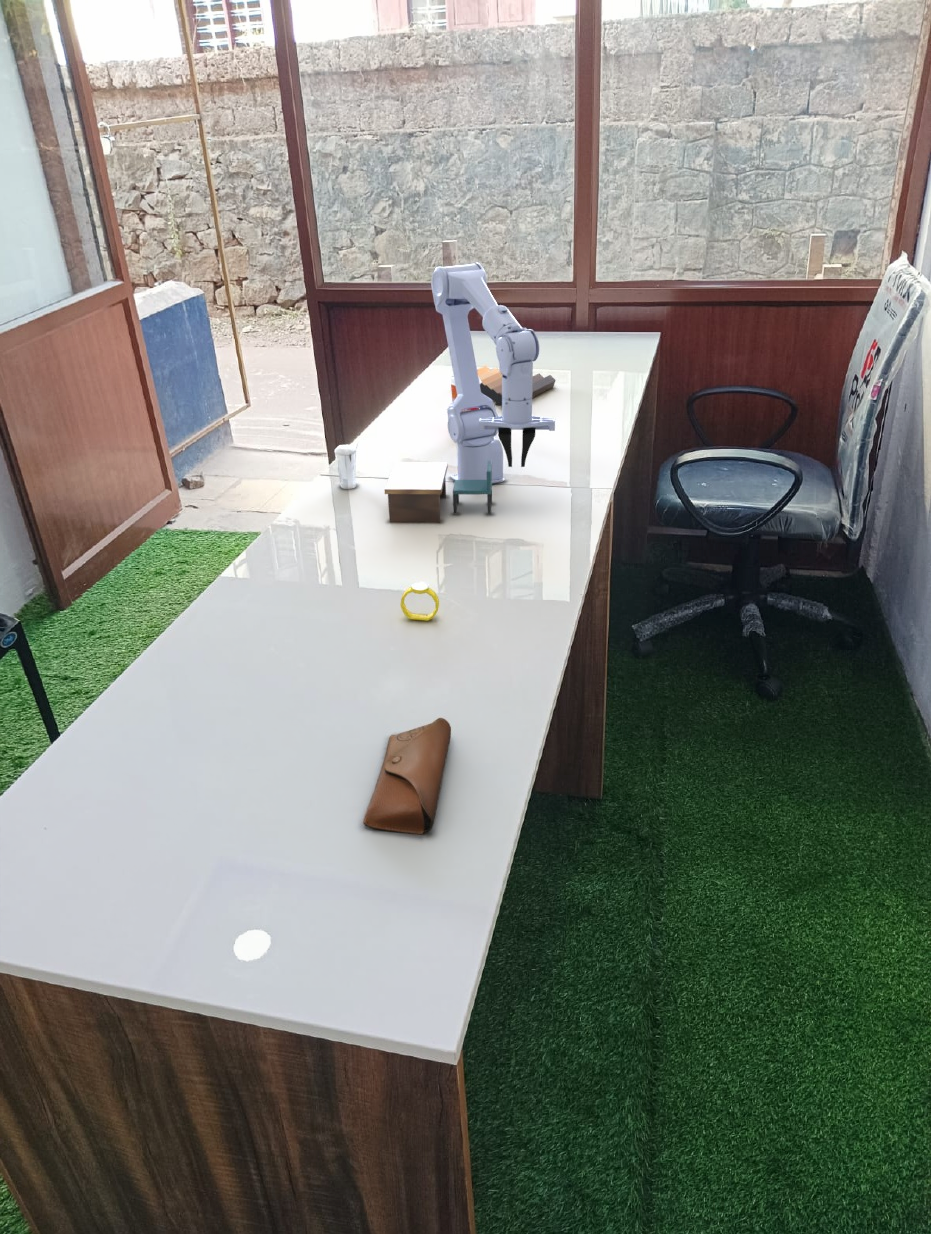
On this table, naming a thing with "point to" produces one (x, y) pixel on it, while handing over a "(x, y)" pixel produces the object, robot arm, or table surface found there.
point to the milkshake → (346, 465)
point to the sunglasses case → (410, 780)
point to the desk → (416, 491)
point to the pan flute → (493, 384)
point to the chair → (474, 488)
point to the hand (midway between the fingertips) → (516, 465)
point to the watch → (419, 589)
